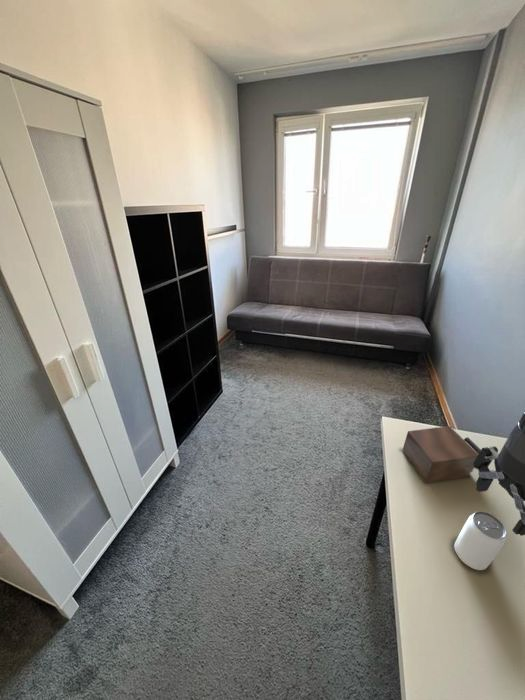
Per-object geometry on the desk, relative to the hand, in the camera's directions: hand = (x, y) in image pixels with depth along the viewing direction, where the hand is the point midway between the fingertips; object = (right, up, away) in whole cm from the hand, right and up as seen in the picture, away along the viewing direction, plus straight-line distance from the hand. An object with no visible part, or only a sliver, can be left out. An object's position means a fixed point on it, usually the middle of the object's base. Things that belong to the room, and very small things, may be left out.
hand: (498, 509), depth 55 cm
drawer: (+9, -2, +30) cm, 31 cm away
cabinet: (+6, -3, +30) cm, 31 cm away
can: (+1, -15, +8) cm, 17 cm away
